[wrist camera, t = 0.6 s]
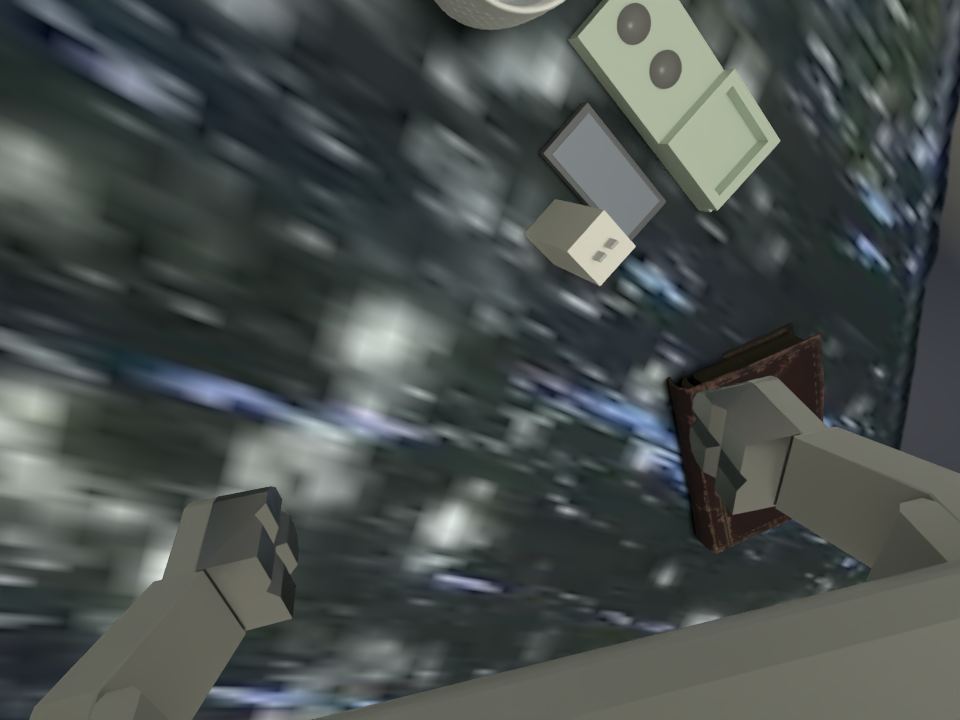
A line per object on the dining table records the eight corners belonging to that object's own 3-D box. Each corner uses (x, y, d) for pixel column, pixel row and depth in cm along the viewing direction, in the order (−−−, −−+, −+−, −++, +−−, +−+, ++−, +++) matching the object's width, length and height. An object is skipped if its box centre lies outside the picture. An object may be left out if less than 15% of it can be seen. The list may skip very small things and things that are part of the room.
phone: (538, 153, 55) (543, 153, 54) (581, 103, 54) (587, 102, 53) (619, 245, 60) (626, 247, 59) (659, 200, 60) (666, 201, 59)
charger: (523, 234, 57) (573, 254, 47) (554, 199, 57) (611, 211, 47) (553, 264, 59) (606, 289, 49) (583, 230, 59) (643, 248, 49)
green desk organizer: (567, 40, 52) (585, 33, 49) (636, -40, 51) (658, -52, 48) (698, 210, 62) (720, 214, 58) (757, 144, 61) (782, 144, 58)
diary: (690, 534, 79) (713, 558, 74) (660, 376, 69) (685, 393, 64) (806, 478, 81) (836, 499, 77) (794, 319, 71) (828, 331, 67)
